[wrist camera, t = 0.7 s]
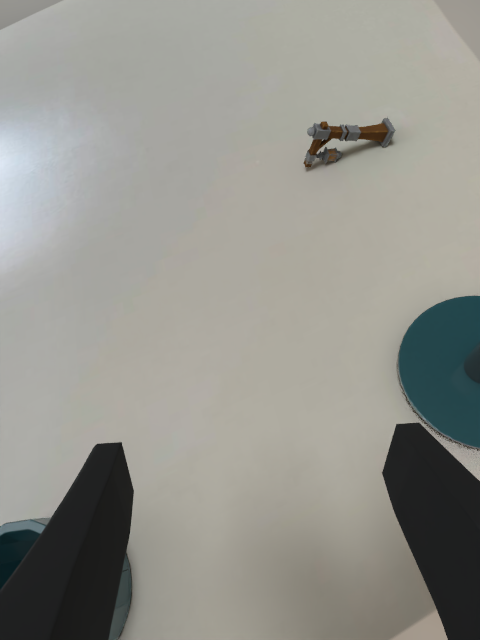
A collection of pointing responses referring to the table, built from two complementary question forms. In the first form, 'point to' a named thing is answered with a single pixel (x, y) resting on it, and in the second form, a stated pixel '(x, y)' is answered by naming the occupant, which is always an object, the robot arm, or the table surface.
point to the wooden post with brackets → (348, 133)
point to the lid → (445, 368)
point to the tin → (18, 537)
